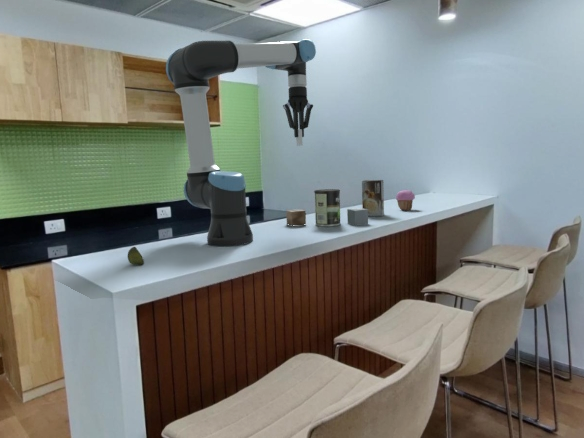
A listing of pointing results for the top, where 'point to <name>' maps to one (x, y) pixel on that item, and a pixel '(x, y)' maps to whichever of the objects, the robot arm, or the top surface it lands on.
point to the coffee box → (373, 197)
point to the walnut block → (296, 217)
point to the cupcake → (405, 199)
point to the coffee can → (327, 207)
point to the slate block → (357, 216)
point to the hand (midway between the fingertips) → (299, 145)
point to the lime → (135, 256)
